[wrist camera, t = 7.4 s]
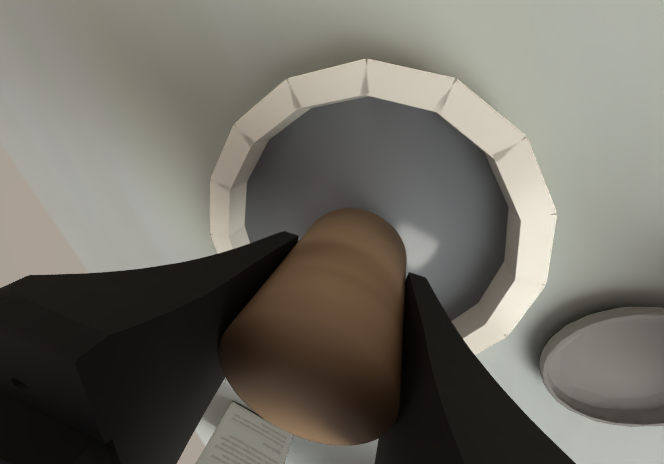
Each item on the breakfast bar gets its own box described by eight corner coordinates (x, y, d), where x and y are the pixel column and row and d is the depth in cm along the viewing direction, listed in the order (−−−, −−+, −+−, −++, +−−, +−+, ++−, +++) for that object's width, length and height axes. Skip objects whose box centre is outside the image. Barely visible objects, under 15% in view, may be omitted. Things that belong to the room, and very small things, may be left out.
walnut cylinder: (387, 312, 12) (366, 467, 7) (297, 279, 13) (217, 401, 8) (423, 228, 10) (432, 362, 5) (314, 194, 11) (220, 282, 6)
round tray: (447, 376, 16) (451, 411, 14) (230, 295, 18) (210, 316, 16) (617, 120, 9) (666, 124, 7) (241, 35, 11) (209, 23, 9)
